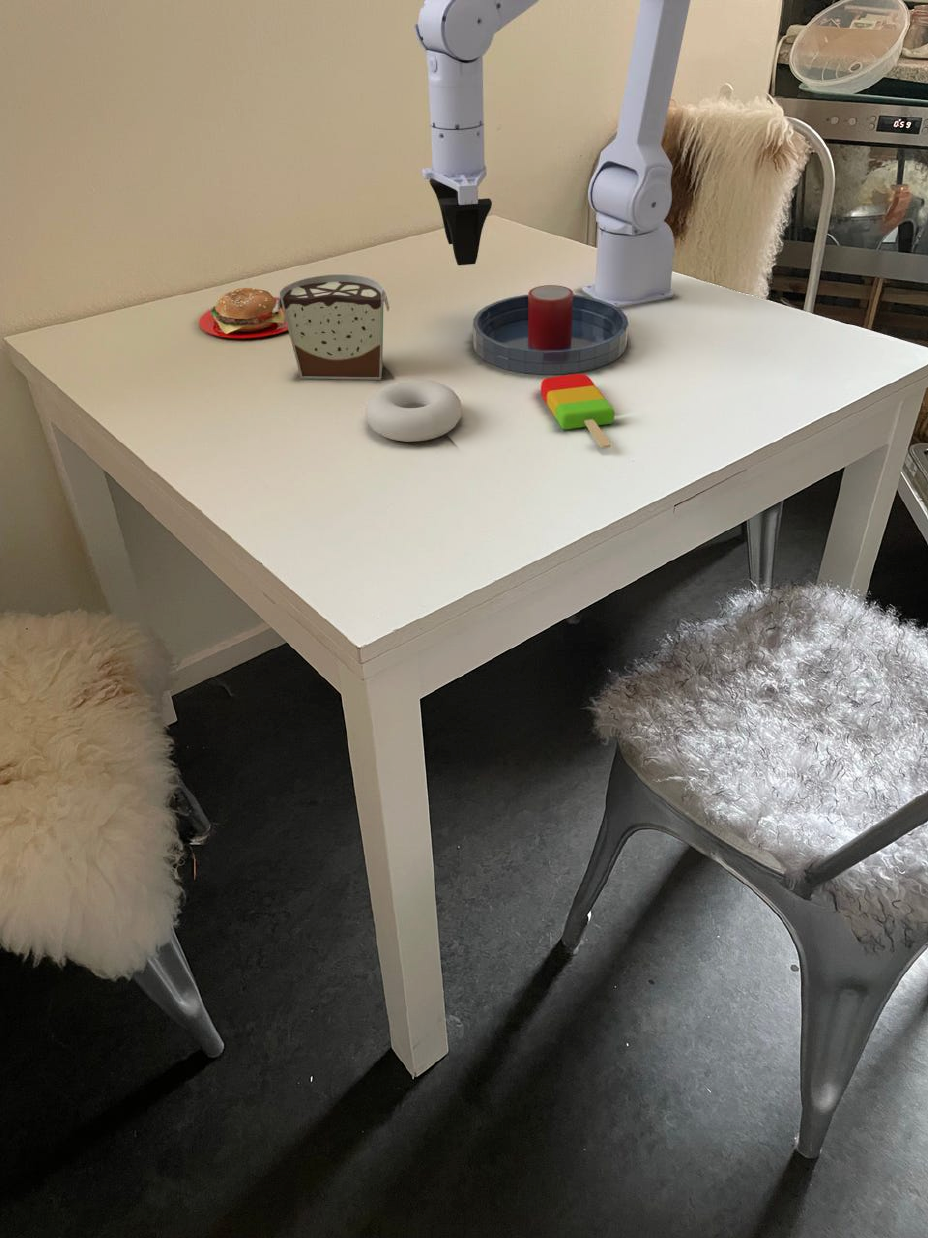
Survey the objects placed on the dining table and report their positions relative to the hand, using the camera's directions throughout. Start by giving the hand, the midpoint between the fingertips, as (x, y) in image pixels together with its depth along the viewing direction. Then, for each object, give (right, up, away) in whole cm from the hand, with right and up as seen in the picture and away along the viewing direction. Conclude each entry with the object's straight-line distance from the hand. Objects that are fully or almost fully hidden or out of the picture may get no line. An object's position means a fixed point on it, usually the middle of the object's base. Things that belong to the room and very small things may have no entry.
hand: (461, 252), depth 111 cm
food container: (-13, -13, 0) cm, 19 cm away
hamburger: (-27, -4, +13) cm, 30 cm away
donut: (-5, -22, -11) cm, 26 cm away
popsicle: (+13, -22, -12) cm, 28 cm away
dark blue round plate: (+11, -10, +4) cm, 15 cm away
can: (+11, -9, +4) cm, 15 cm away
